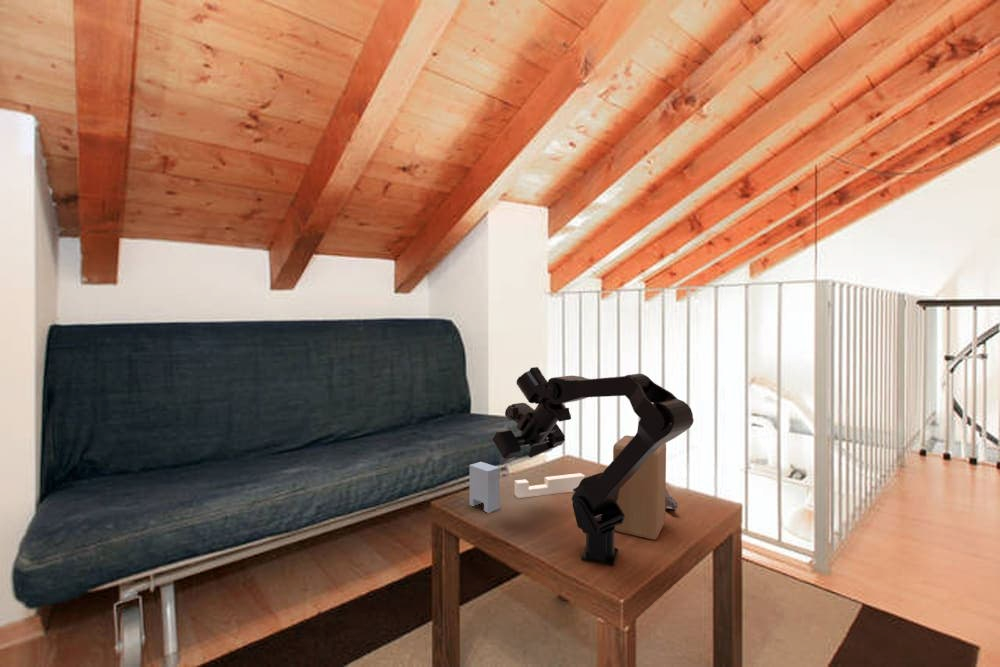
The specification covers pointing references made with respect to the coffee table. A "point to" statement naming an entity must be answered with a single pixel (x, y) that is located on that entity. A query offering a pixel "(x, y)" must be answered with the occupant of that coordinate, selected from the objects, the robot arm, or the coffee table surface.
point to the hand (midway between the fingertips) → (515, 459)
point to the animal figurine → (670, 502)
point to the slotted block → (484, 486)
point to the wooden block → (643, 495)
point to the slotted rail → (548, 485)
